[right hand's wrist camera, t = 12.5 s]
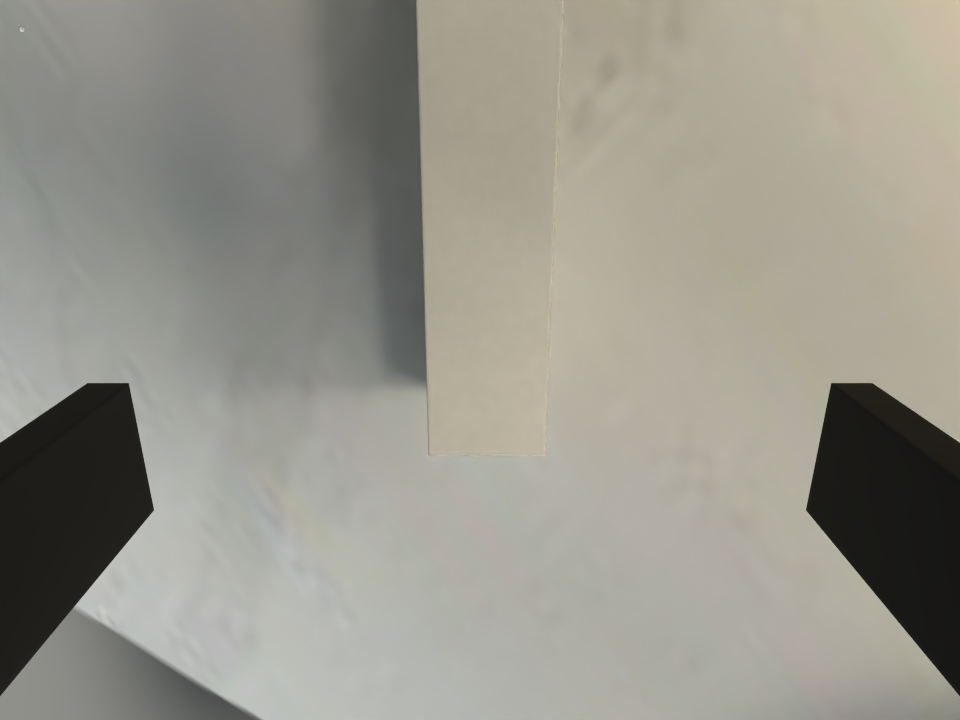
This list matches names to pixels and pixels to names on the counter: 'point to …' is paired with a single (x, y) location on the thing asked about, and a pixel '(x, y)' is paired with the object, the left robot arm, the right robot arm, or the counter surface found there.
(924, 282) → the counter surface
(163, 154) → the counter surface
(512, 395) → the beam
